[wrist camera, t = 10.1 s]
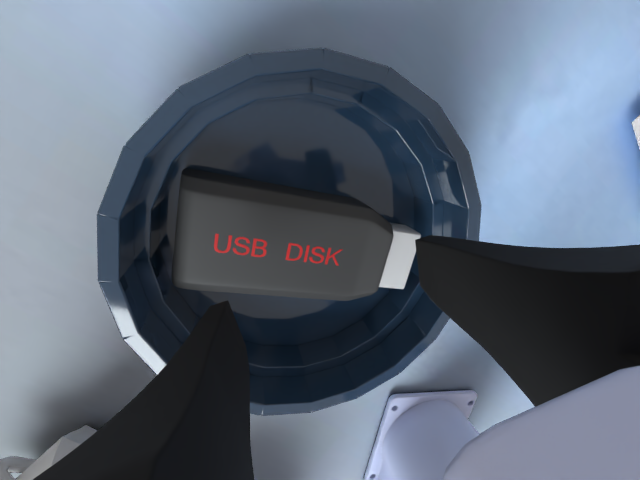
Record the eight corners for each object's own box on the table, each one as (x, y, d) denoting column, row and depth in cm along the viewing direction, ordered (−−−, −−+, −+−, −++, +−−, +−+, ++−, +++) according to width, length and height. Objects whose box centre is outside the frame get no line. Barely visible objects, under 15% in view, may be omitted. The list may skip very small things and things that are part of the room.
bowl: (389, 354, 23) (424, 405, 18) (130, 357, 18) (99, 427, 14) (462, 112, 18) (530, 107, 14) (137, 25, 13) (92, -22, 9)
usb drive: (184, 167, 15) (174, 175, 12) (407, 207, 18) (435, 220, 16) (175, 270, 16) (164, 296, 14) (383, 288, 20) (405, 311, 17)
